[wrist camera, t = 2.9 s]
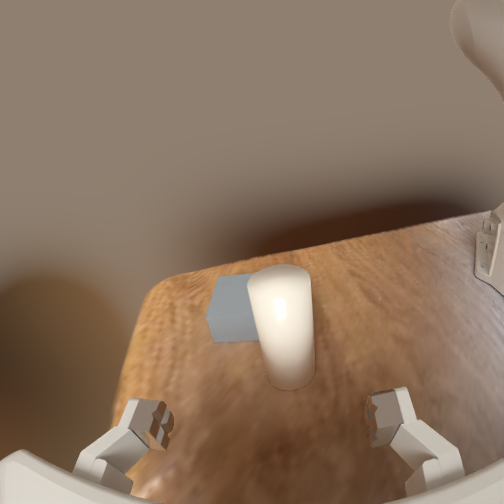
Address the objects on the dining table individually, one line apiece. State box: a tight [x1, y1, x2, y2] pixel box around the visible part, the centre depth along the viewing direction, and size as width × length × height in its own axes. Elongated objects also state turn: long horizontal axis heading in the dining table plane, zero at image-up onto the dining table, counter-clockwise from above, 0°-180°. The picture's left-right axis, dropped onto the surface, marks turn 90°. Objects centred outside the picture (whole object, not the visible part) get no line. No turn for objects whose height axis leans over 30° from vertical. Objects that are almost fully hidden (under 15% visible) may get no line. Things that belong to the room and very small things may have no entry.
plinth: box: [206, 273, 259, 343], centre depth 34 cm, size 8×8×4 cm
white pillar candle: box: [247, 264, 315, 391], centre depth 24 cm, size 5×5×11 cm
